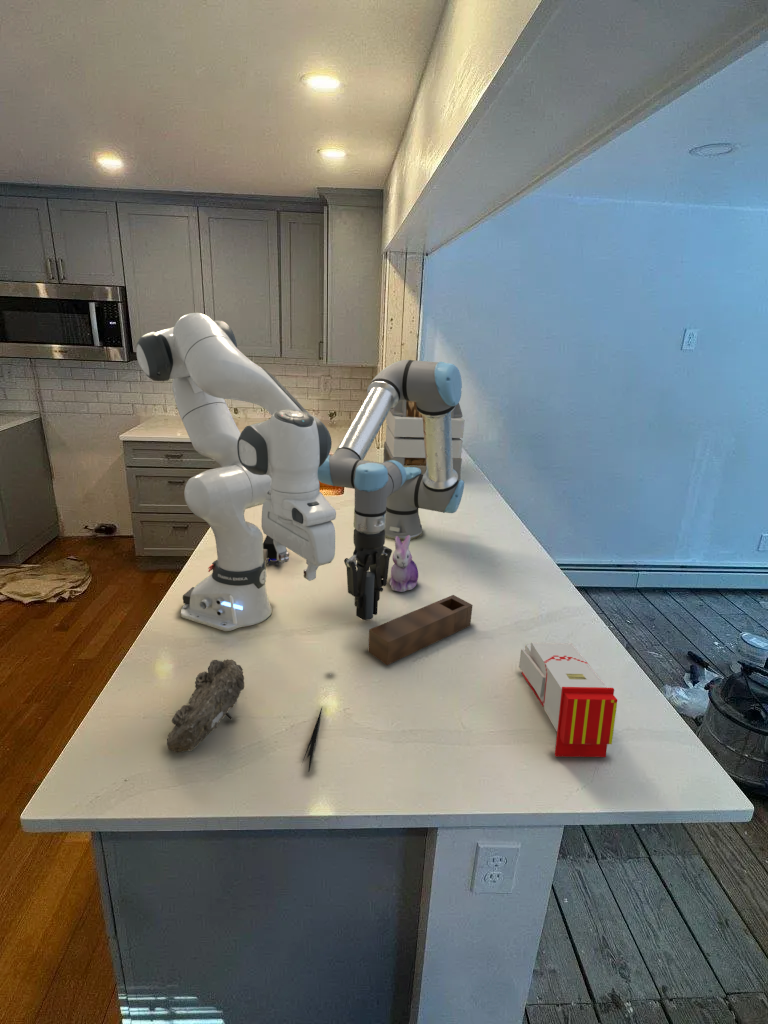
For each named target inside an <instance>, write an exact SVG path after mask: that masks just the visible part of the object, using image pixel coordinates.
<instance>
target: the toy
mask: <svg viewBox="0 0 768 1024" xmlns="http://www.w3.org/2000/svg"><path fill="white" fill-rule="evenodd" d="M518 668H519V670H520V671H521V675H522V677H523V678H524V680H525V681H526V683H527V684H528V686H529V687H530V689H531V691H532V692H533V693H534V696H535V697H536V699H537V700H538V702H539V703H540V705H541V706H542V707H543V711H544V712H545V713H546V715H547V717H548V719H549V721H550V722H551V724H552V726H553V727H554V730H555V732H556V739H555V748H554V749H555V750H554V756H555V757H561V758H562V757H563V758H564V757H567V758H568V757H569V758H570V757H571V758H573V757H574V758H576V757H577V758H606V757H607V749H608V745H613V739H614V738H613V737H614V729H615V724H616V723H615V722H616V714H617V707H618V698H617V697H616V696H615V695H614V694H615V688H614V687H607V685H606V684H605V682H604V681H603V680H602V679H601V678H600V677H599V675H598V673H596V672H595V670H594V669H593V668H592V666H590V664H589V663H588V662H587V660H586V659H585V658H584V657H583V655H582V654H581V653H580V652H579V651H578V649H577V648H576V647H575V646H574V645H573V643H572V642H531V643H525V644H524V648H520V655H519V662H518Z"/></svg>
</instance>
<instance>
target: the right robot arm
mask: <svg viewBox="0 0 768 1024" xmlns="http://www.w3.org/2000/svg"><path fill="white" fill-rule="evenodd" d="M462 388H463V381H462V375H461V371H460V369H459V368H458V366H457V365H455V364H453V363H449V362H445V361H438V362H437V361H428V360H427V361H426V360H417V359H415V360H413V359H401V360H398V361H395V362H392V363H391V364H389V365H388V366H386V367H384V368H383V369H381V370H380V371H379V372H378V373H377V374H376V375H375V376H374V378H373V379H372V380H371V382H370V383H369V384H368V386H367V389H366V397H365V399H364V400H363V402H362V404H361V406H360V408H359V409H358V411H357V413H356V415H355V416H354V418H353V420H352V422H351V424H350V425H349V426H348V429H347V430H346V432H345V434H344V436H343V438H342V439H341V440H340V442H339V445H338V446H337V448H336V449H335V451H334V452H333V454H329V455H328V457H327V459H326V460H325V462H324V463H323V464H322V465H321V466H320V467H318V472H317V475H318V480H319V483H321V484H324V485H328V486H332V487H338V488H339V487H341V488H347V489H353V490H354V509H353V528H354V529H353V544H354V545H353V546H354V551H353V552H352V554H353V555H351V556H350V557H349V558H348V557H345V558H344V560H343V562H344V564H345V567H346V581H347V593H348V594H349V595H351V596H353V597H354V607H356V610H355V611H356V612H355V616H356V617H357V618H358V619H360V620H362V621H366V620H365V614H366V596H365V595H364V588H365V582H366V576H367V571H370V572H373V573H374V574H375V578H374V605H373V616H377V615H378V606H379V601H380V598H381V597H380V596H381V595H380V594H381V593H382V592H383V591H384V587H386V586H387V585H388V577H389V568H390V559H391V555H392V554H393V550H392V549H391V548H389V546H385V543H386V538H387V539H389V540H395V537H396V536H398V537H399V539H400V541H404V540H405V538H406V537H407V536H408V535H410V541H411V540H415V539H418V538H420V537H421V536H422V535H423V525H422V524H421V518H420V515H419V509H422V510H427V511H433V512H438V513H443V514H445V513H446V514H455V513H456V512H457V511H458V509H459V508H460V504H461V501H462V498H463V494H464V489H465V481H464V480H463V479H461V478H460V479H459V480H458V474H457V472H456V471H455V470H454V469H453V457H452V433H451V412H452V411H453V410H454V408H455V405H457V404H458V403H459V404H460V401H461V398H462ZM401 400H406V401H414V402H416V408H417V411H418V412H419V413H421V414H422V420H423V432H424V444H425V457H426V466H425V467H426V471H425V472H424V473H423V474H422V469H421V468H419V467H417V466H404V467H403V465H402V464H401V463H399V462H398V461H395V460H389V461H385V462H384V461H383V462H378V461H370V460H365V458H366V456H367V454H368V452H369V450H370V448H371V446H372V445H373V443H374V441H375V439H376V437H377V436H378V433H379V431H380V430H381V427H382V426H383V424H384V422H385V421H386V416H387V414H388V413H389V411H390V409H391V408H393V407H395V406H396V405H397V403H398V401H401Z"/></svg>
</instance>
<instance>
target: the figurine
mask: <svg viewBox="0 0 768 1024" xmlns="http://www.w3.org/2000/svg"><path fill="white" fill-rule="evenodd" d="M410 544H411V540H410V535H408V536H407V537H406V538H405V540H400V539H399V537H398V536H396V537H395V539H394V546H395V547H394V548H395V550H394V551H393V553H392V562H393V565H392V566H391V569H390V580H389V585H390V587H391V588H390V589H391V590H392V591H395V592H400V593H404V592H406V591H411V590H413V589H414V588H415V587H416V586H417V585H418V580H419V570H418V569H419V568H418V566H417V564H416V562H415V561H414V560H413V555H412V552H411V550H410Z"/></svg>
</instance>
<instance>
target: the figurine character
mask: <svg viewBox="0 0 768 1024" xmlns="http://www.w3.org/2000/svg"><path fill="white" fill-rule="evenodd" d="M263 554H264V559H265V562H266V565H267V566H270V563H271V561H272V562H276V563H275V565H276V566H279V564H280V561H279V560H278V559H277V552H276V549H275V546H274V543H273V539H272V538H271V537H269V536H267V535H266V536H265V538H264V539H263Z"/></svg>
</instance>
